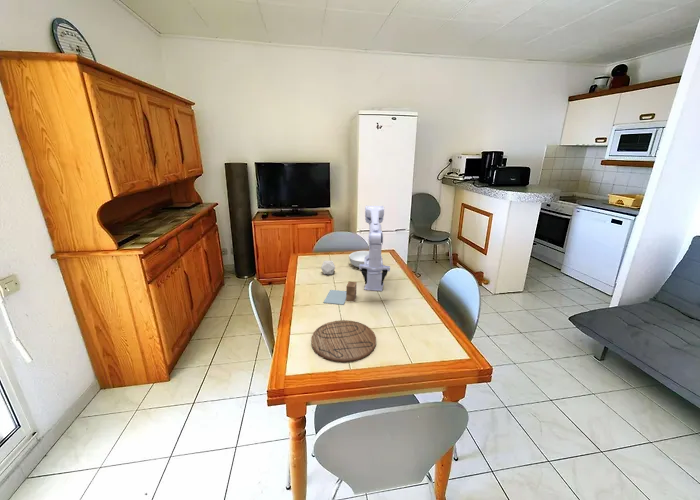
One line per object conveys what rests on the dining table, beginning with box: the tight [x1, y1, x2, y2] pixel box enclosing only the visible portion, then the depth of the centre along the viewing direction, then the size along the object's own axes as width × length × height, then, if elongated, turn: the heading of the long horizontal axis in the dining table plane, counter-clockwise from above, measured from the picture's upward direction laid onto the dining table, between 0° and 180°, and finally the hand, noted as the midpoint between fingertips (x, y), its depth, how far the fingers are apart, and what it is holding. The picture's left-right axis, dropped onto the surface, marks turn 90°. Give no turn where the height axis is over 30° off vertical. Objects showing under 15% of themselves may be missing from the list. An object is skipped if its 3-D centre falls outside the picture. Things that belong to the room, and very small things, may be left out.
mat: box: [323, 289, 347, 306], centre depth 151 cm, size 10×14×1 cm
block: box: [345, 281, 358, 303], centre depth 149 cm, size 4×6×8 cm, turn 170°
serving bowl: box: [348, 250, 383, 268], centre depth 192 cm, size 21×21×7 cm
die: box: [320, 260, 336, 276], centre depth 179 cm, size 8×9×10 cm
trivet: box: [310, 319, 377, 364], centre depth 117 cm, size 25×25×2 cm
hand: (374, 283), depth 146 cm, fingers open, 7 cm apart
